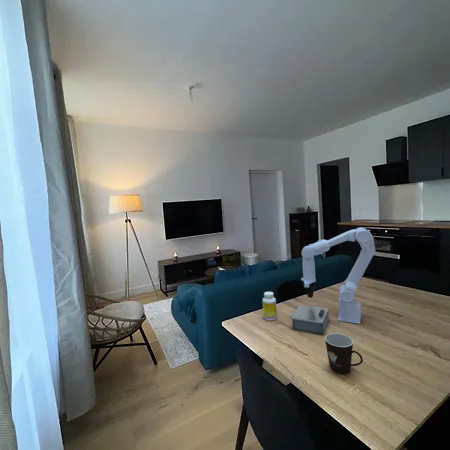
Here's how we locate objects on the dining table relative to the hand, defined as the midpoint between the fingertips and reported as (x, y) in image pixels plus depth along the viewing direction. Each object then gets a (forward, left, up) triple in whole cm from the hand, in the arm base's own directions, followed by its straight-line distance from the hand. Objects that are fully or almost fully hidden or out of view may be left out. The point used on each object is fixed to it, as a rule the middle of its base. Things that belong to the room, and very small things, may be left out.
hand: (310, 297), depth 124 cm
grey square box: (-2, +11, -9) cm, 14 cm away
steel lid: (-2, +10, -4) cm, 11 cm away
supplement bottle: (+18, +11, -10) cm, 23 cm away
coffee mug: (-18, +39, -10) cm, 44 cm away
